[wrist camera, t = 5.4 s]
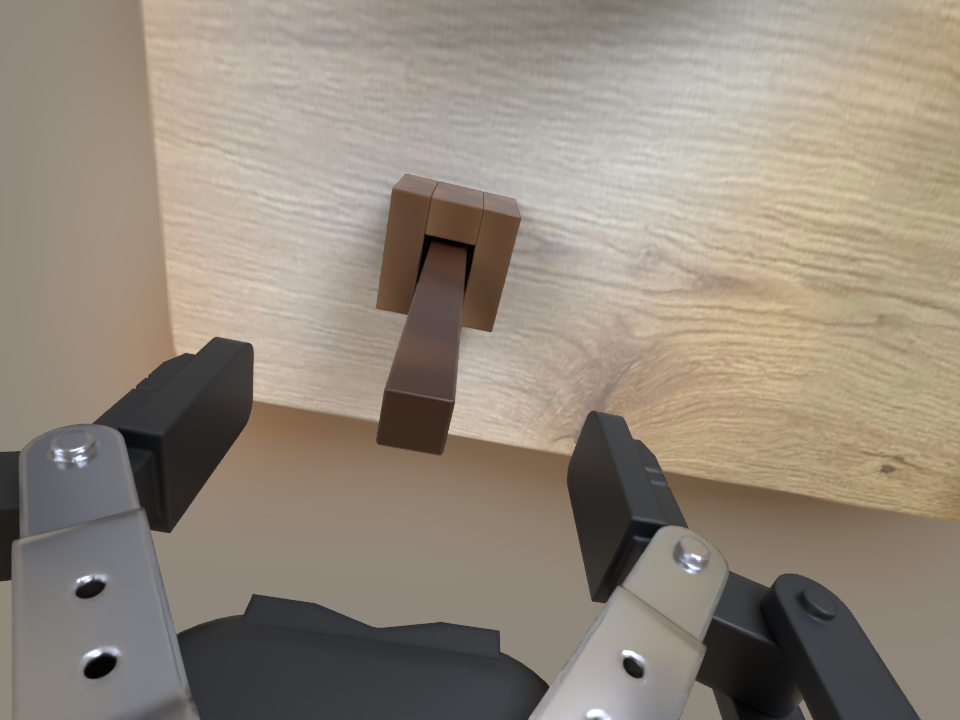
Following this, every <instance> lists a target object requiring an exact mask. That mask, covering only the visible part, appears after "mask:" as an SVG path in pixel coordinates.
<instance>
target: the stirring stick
mask: <svg viewBox="0 0 960 720" xmlns="http://www.w3.org/2000/svg"><path fill="white" fill-rule="evenodd" d="M467 245H468V244H466V243H461V242H457V241H452V240H448V239H443V238H439V237H434V236H433V238H432V241H431V244H430V247H429V250H428V253H427V257H426V260H425V263H424V266H423V269H422V272H421V276H420V279H419V282H418V285H417V288H416V291H415V294H414V298H413V301H412V304H411V307H410V310H409V313H408V317H407V320H406V323H405V326H404V329H403V332H402V335H401V339H400V342H399V345H398V348H397V351H396V354H395V358H394V361H393V364H392V367H391V370H390V373H389V377H388V380H387V383H386V386H385V389H384V395H383V401H382V407H381V413H380V420H379V426H378V432H377V439H376V441H377V444H379V445H383V446H389V447H394V448H400V449H405V450H411V451H417V452H423V453H428V454H434V455H441V454H442V453H443V450H444V447H445V442H446V438H447V434H448V430H449V426H450V421H451V417H452V413H453V409H454V405H455V395H456V382H457V370H458V357H459V345H460V332H461V320H462V307H463V295H464V282H465V270H466V257H467Z"/></svg>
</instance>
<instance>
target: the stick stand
mask: <svg viewBox="0 0 960 720" xmlns="http://www.w3.org/2000/svg"><path fill="white" fill-rule="evenodd" d="M520 220H521V216H520V213H519V209H518V206H517V203H516V200H515V199H513V198H509V197H504V196H500V195H496V194H492V193H487V192H482V191H478V190H474V189H470V188H465V187H461V186H457V185H453V184H448V183H444V182H440V181H439V182H437V181H435V180H431V179H426V178H422V177H418V176H414V175H409V174H405V175H404V176H403V177H402V178H401V180H400V181H399V182H398V183H397V184H396V185H395V187H394V188H393V189H392V196H391V203H390V210H389V217H388V225H387V232H386V239H385V246H384V253H383V261H382V268H381V275H380V282H379V289H378V296H377V304H376V308H377V309H382V310H387V311H392V312H397V313H402V314H406V315H408V313H409V310H410V307H411V304H412V301H413V298H414V294H415V291H416V288H417V285H418V282H419V279H420V276H421V272H422V269H423V266H424V263H425V260H426V258H425V253H426V247H427V242H428V236H429V235H430V236H434V237H439V238H443V239H448V240H452V241H457V242H461V243H466V244H470V245H472V246H471V250H470V255H469V260H468V264H467V268H466V270H465V282H464V295H463V307H462V320H461V326H464V327H469V328H474V329H479V330H484V331H489V332H492V329H493V325H494V321H495V317H496V314H497V310H498V306H499V302H500V298H501V294H502V290H503V286H504V283H505V279H506V275H507V271H508V267H509V263H510V259H511V255H512V251H513V248H514V244H515V240H516V236H517V232H518V228H519V224H520ZM424 258H425V259H424Z"/></svg>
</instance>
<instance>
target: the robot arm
mask: <svg viewBox="0 0 960 720" xmlns="http://www.w3.org/2000/svg"><path fill="white" fill-rule="evenodd" d="M253 364H254V351H253V346H252V344H250V343H246V342H241V341H236V340H231V339H226V338H221V337H215V338H213V339H212V340H211V341H210V342H209V343H207V344H206V345H205V346H204V347H203V348H202V349H201V350H200V351H199V352H198V353H197V354H196V355H194V354H189V353H185V354H183V355H180V356H178V357H175V358H173V359H171V360H168V361H165V362H163V363H162V364H161V365H160V366H159V367H158V368H156V369H155V370H154V371H153V372H152V373H151V374H149V377H148V378H145V379H144V380H142V381H141V382H140V383H139V384H138V385H137V386H136V389H132V390H131V391H130V392H129V393H127V394H126V395H125V396H124V397H123V398H122V399H120V400H119V401H118V402H117V403H116V404H115V405H113V406H112V407H111V408H110V409H109V410H108V411H106V412H105V413H104V414H103V415H102V416H101V417H100V418H98V419H97V420H96V421H95V422H94V423H92V424H77V425H70V426H65V427H61V428H57V429H54V430H51V431H48V432H46V433H44V434H42V435H40V436H38V437H36V438H34V439H33V440H31V441H30V442H29V443H28V444H27V445H26V446H25V447H24V448H23V449H22V451H16V452H0V581H8V580H12V720H680V717H681V715H682V712H683V710H684V707H685V705H686V702H687V699H688V697H689V694H690V691H691V689H692V686H693V684H694V681H695V680H696V681H698V682H700V683H702V684H704V685H706V686H708V687H710V688H712V689H713V692H714V695H715V698H716V701H717V704H718V708H719V710H720V714H721V716H722V720H805V718H804V716H803V714H802V711H801V709H800V707H799V704H800V703H801V701H802V700H803V699H804V701H805V703H806V705H807V707H808V709H809V712H810V714H811V716H812V718H813V720H920V718H919V716H918V715H917V713H916V712H915V710H914V709H913V707H912V706H911V704H910V703H909V701H908V699H907V698H906V696H905V695H904V693H903V692H902V691H901V689H900V687H899V685H898V684H897V682H896V681H895V679H894V678H893V676H892V675H891V673H890V672H889V670H888V668H887V667H886V665H885V664H884V662H883V661H882V659H881V658H880V656H879V654H878V653H877V651H876V650H875V648H874V647H873V645H872V644H871V642H870V640H869V639H868V637H867V636H866V634H865V633H864V631H863V630H862V628H861V627H860V625H859V623H858V622H857V620H856V619H855V617H854V616H853V614H852V613H851V612H850V610H849V609H848V608H847V606H846V605H845V604H844V603H843V602H842V601H841V600H840V599H839V598H838V597H837V596H836V595H835V594H833V593H832V592H831V591H830V590H828V589H827V588H825V587H824V586H822V585H821V584H819V583H817V582H815V581H813V580H811V579H809V578H807V577H804V576H801V575H798V574H783V575H780V576H779V577H778V578H777V579H776V581H775V582H774V583H773V585H772V586H771V587H770V588H768V587H766V586H764V585H761V584H759V583H756V582H754V581H752V580H749V579H747V578H745V577H742V576H740V575H738V574H735V573H733V572H731V571H729V567H728V564H727V561H726V559H725V557H724V556H723V555H722V553H721V552H720V550H719V549H718V548H717V547H716V546H715V545H714V544H713V543H712V542H710V541H709V540H708V539H707V538H705V537H704V536H702V535H700V534H699V533H697V532H695V531H693V530H690V529H689V528H688V526H687V524H686V522H685V519H684V517H683V515H682V513H681V511H680V509H679V507H678V504H677V502H676V500H675V498H674V496H673V494H672V491H671V489H670V488H669V487H668V483H667V481H666V479H665V477H664V474H662V470H661V468H660V466H659V463H658V461H657V459H656V457H655V455H654V454H653V453H652V452H651V451H650V450H649V449H648V448H647V447H646V446H645V445H644V444H643V443H642V442H641V441H640V440H635V439H633V438H632V436H631V433H630V431H629V429H628V426H627V424H626V422H625V419H624V418H623V417H622V416H617V415H612V414H607V413H602V412H597V411H591V412H590V413H589V414H588V416H587V418H586V420H585V423H584V426H583V428H582V431H581V434H580V436H579V439H578V441H577V444H576V447H575V449H574V452H573V454H572V457H571V460H570V463H569V467H568V474H567V485H568V490H569V495H570V500H571V505H572V509H573V514H574V519H575V524H576V528H577V533H578V538H579V542H580V547H581V552H582V557H583V561H584V566H585V570H586V576H587V580H588V585H589V590H590V595H591V599H592V601H593V602H600V603H606V604H605V605H604V607H603V608H602V610H601V611H600V613H599V615H598V616H597V617H596V619H595V620H594V622H593V623H592V625H591V626H590V628H589V629H588V631H587V632H586V634H585V635H584V637H583V638H582V640H581V641H580V643H579V644H578V646H577V648H576V649H575V650H574V652H573V653H572V655H571V656H570V658H569V659H568V661H567V662H566V664H565V665H564V667H563V668H562V670H561V671H560V673H559V674H558V676H557V677H556V679H555V680H554V682H553V683H552V685H551V686H550V687H549V686H548V684H547V683H546V682H545V681H544V680H543V679H541V678H540V677H539V676H538V675H537V674H536V673H535V672H533V671H532V670H531V669H529V668H528V667H526V666H525V665H524V664H522V663H521V662H519V661H517V660H515V659H514V658H512V657H510V656H509V655H506V654H504V653H502V652H500V631H497V630H491V629H484V628H477V627H470V626H463V625H457V624H450V623H444V622H437V623H427V624H417V625H408V626H398V627H397V626H396V627H387V628H376V627H372V626H369V625H366V624H364V623H362V622H359V621H357V620H354V619H352V618H349V617H347V616H345V615H342V614H339V613H337V612H335V611H333V610H330V609H328V608H325V607H323V606H321V605H318V604H315V603H309V602H303V601H295V600H289V599H282V598H275V597H269V596H262V595H255V594H253V595H252V597H251V600H250V602H249V604H248V606H247V608H246V611H245V613H244V615H235V616H229V617H225V618H220V619H215V620H212V621H209V622H205V623H202V624H199V625H197V626H194V627H192V628H189V629H187V630H184V631H182V632H180V633H178V634H176V632H175V628H174V625H173V620H172V617H171V613H170V608H169V604H168V600H167V596H166V592H165V588H164V584H163V580H162V576H161V572H160V568H159V564H158V560H157V556H156V552H155V548H154V544H153V540H152V536H151V531H150V530H153V531H160V532H166V533H171V531H172V530H173V528H174V527H175V526H176V524H177V522H178V521H179V520H180V518H181V517H182V516H183V514H184V513H185V511H186V510H187V509H188V507H189V506H190V504H191V503H192V501H193V500H194V499H195V497H196V496H197V494H198V493H199V491H200V490H201V489H202V487H203V486H204V484H205V483H206V482H207V480H208V478H209V477H210V476H211V474H212V473H213V472H214V470H215V469H216V467H217V466H218V464H219V463H220V462H221V460H222V459H223V457H224V456H225V454H226V453H227V452H228V450H229V449H230V447H231V446H232V444H233V443H234V442H235V440H236V439H237V437H238V436H239V435H240V433H241V432H242V430H243V429H244V427H245V426H246V424H247V422H248V419H249V416H250V413H251V409H252V403H253Z"/></svg>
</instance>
